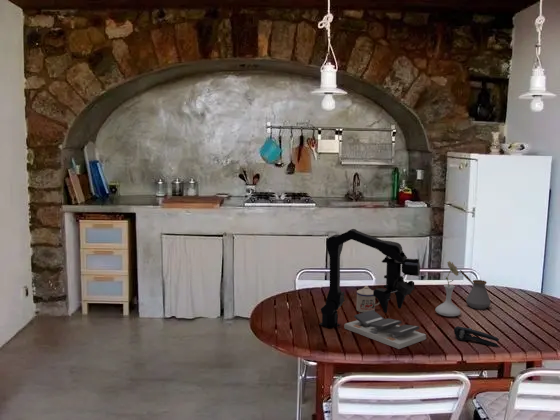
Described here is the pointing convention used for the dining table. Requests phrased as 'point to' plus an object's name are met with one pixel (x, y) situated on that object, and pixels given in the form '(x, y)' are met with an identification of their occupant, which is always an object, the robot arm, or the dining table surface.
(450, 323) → the dining table surface
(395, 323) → the panel
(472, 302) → the coffee pot
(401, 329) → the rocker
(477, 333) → the can opener
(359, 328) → the switch panel
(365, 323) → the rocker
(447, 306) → the flower in vase
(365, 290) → the teacup with lid
